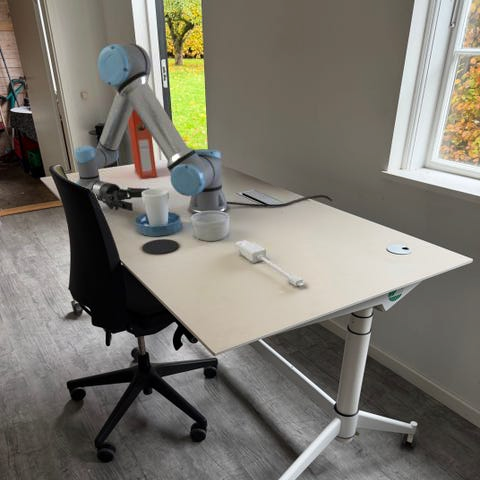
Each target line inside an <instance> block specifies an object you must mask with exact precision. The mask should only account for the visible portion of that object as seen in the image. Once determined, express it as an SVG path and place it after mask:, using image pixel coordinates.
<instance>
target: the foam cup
mask: <svg viewBox="0 0 480 480" xmlns="http://www.w3.org/2000/svg"><path fill="white" fill-rule="evenodd" d="M141 199H142V202H143V205H144V209H145V214H146V213H147V217H148V221H149V224H150V226H162V225H168V212H169V203H170V202H169V200H170V192H169V190H168V189H166V188H160V187H159V188H158V187H157V188H155V187H154V188H149V189H148V190H145V191H143V192H142V197H141Z"/></svg>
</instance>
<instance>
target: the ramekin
mask: <svg viewBox="0 0 480 480" xmlns="http://www.w3.org/2000/svg"><path fill="white" fill-rule="evenodd" d="M190 222H191V224H192V230H193V234H194V236H195V237H196V238H197V239H199V240H200V241H204V242H215V241H216V242H217V241H220V240H223V239H224V238H226V237H227V235H228V233H229V224H230V214H228V213H227V212H225V211H224V212H220V211H203V212H199V213H196V214H195V213H193V214H192V216H191V217H190Z"/></svg>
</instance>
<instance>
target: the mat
mask: <svg viewBox="0 0 480 480" xmlns="http://www.w3.org/2000/svg"><path fill="white" fill-rule="evenodd" d="M141 248H142V251H143V252H144V253H146V254H149V255H165V254H170V253H173V252H175V251H176V250H178V248H179V243H178V242H177V241H175V240H172V239H167V238H163V239H162V238H161V239H160V238H159V239H154V240H150V241H147V242H145V243H144V244H143V245H142V247H141Z"/></svg>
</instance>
